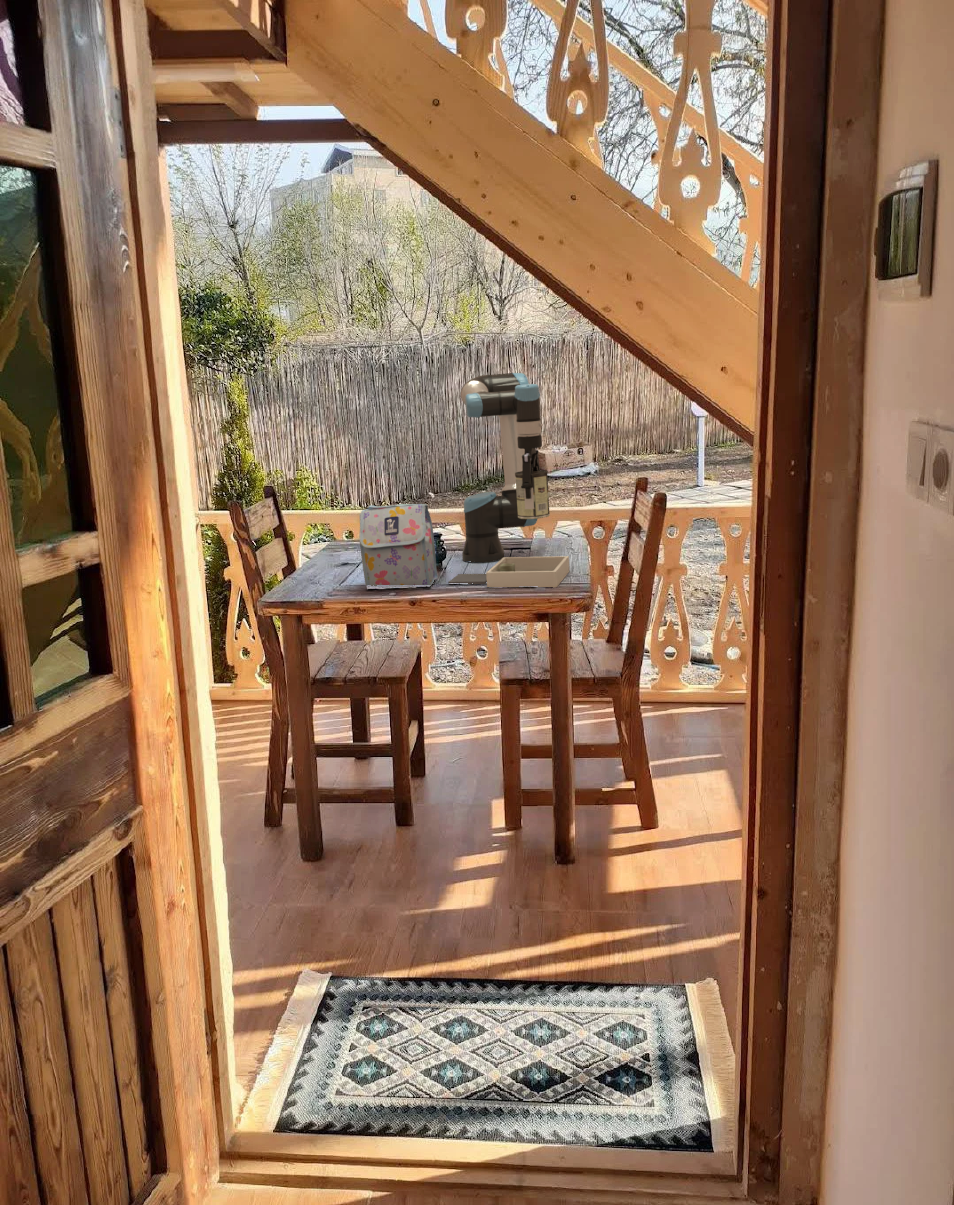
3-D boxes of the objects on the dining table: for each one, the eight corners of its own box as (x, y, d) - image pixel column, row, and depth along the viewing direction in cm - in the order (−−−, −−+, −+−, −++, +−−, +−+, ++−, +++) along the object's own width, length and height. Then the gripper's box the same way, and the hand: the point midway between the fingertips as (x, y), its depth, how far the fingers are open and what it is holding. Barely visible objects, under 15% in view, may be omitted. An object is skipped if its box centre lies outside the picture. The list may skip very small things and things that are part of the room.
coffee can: (526, 513, 334) (524, 469, 330) (555, 514, 328) (553, 469, 325) (511, 518, 325) (508, 474, 322) (540, 519, 320) (538, 474, 316)
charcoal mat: (448, 584, 332) (448, 581, 331) (458, 576, 343) (458, 573, 343) (484, 584, 328) (484, 581, 328) (493, 576, 340) (493, 573, 340)
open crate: (487, 588, 323) (486, 572, 322) (504, 571, 346) (503, 557, 345) (556, 587, 318) (555, 571, 316) (569, 571, 340) (568, 556, 339)
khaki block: (500, 581, 332) (499, 566, 331) (503, 578, 336) (502, 563, 335) (512, 581, 331) (512, 565, 330) (515, 578, 335) (514, 563, 334)
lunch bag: (360, 593, 328) (352, 510, 322) (372, 581, 345) (365, 502, 338) (429, 591, 325) (423, 507, 319) (439, 579, 341) (432, 499, 335)
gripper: (533, 438, 309) (537, 511, 314) (547, 431, 330) (551, 500, 336) (509, 439, 311) (513, 512, 316) (524, 432, 332) (528, 500, 337)
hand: (533, 506), depth 326 cm, fingers closed on coffee can, 10 cm apart
